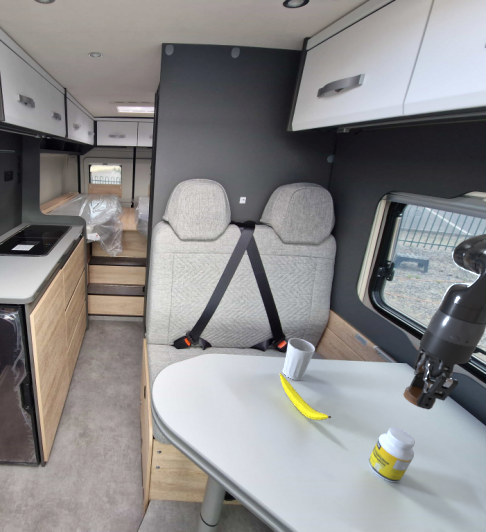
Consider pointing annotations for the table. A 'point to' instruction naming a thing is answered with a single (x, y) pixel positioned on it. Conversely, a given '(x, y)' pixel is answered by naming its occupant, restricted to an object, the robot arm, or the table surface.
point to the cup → (297, 358)
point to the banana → (301, 402)
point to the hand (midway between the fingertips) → (418, 398)
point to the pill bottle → (392, 454)
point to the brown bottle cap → (413, 394)
